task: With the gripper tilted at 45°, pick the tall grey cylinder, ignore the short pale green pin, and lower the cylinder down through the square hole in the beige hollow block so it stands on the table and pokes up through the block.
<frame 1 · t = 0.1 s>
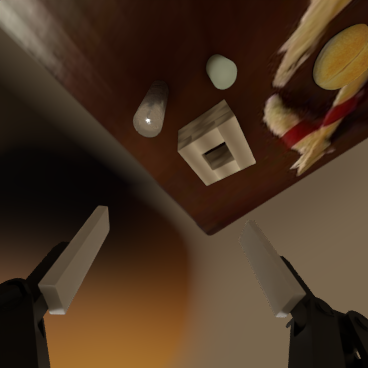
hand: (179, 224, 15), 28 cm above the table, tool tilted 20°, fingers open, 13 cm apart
bread roll: (337, 59, 28), on the table
beige hollow block: (212, 136, 38), on the table
short pin: (215, 66, 28), on the table
tall grey cylinder: (160, 90, 31), on the table
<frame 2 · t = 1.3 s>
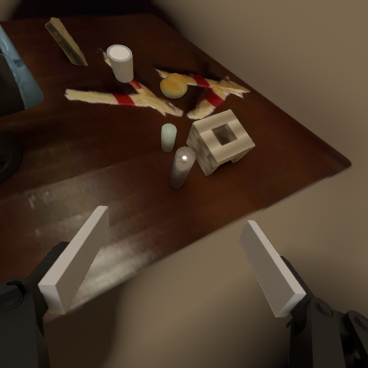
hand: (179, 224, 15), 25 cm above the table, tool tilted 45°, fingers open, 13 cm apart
bread roll: (173, 90, 52), on the table
beige hollow block: (212, 151, 47), on the table
rock: (75, 55, 50), on the table
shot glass: (124, 76, 50), on the table
short pin: (167, 146, 45), on the table
tall grey cylinder: (175, 183, 42), on the table
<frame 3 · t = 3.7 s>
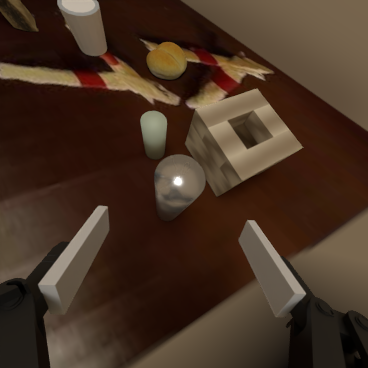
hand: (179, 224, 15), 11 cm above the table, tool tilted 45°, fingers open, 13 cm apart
bread roll: (166, 68, 36), on the table
beige hollow block: (225, 157, 31), on the table
rock: (22, 17, 34), on the table
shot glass: (94, 48, 34), on the table
short pin: (155, 150, 29), on the table
tall grey cylinder: (167, 210, 26), on the table
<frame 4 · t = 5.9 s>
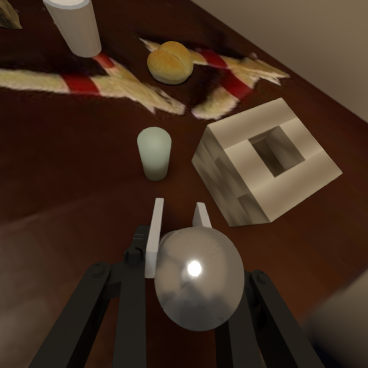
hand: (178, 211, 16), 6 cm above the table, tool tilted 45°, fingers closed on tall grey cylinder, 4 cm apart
bread roll: (170, 71, 32), on the table
beige hollow block: (238, 177, 26), on the table
rock: (4, 12, 30), on the table
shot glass: (86, 48, 30), on the table
short pin: (155, 170, 24), on the table
tall grey cylinder: (170, 245, 21), on the table, touching gripper
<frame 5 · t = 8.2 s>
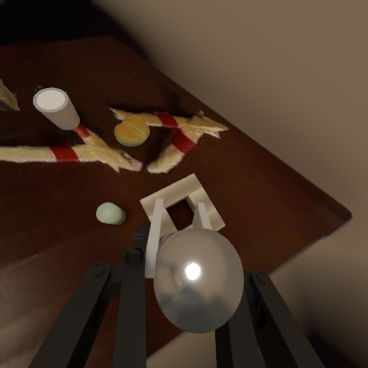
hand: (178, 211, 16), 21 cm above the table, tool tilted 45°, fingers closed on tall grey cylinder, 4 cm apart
bread roll: (133, 134, 43), on the table
beige hollow block: (177, 217, 37), on the table
rock: (5, 96, 40), on the table
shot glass: (68, 121, 40), on the table
short pin: (118, 216, 35), on the table
tall grey cylinder: (170, 246, 21), point 15 cm above the table, touching gripper
when the fingers open (13 cm above the table, at t = 10.8 s): tall grey cylinder drops 6 cm, on the table.
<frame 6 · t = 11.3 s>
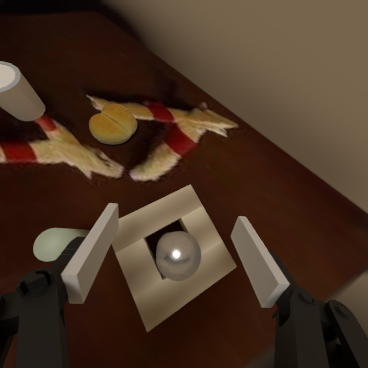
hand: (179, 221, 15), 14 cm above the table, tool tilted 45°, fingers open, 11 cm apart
bread roll: (116, 128, 33), on the table
beige hollow block: (168, 243, 27), on the table
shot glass: (30, 110, 31), on the table
short pin: (83, 241, 25), on the table
tall grey cylinder: (167, 243, 27), on the table
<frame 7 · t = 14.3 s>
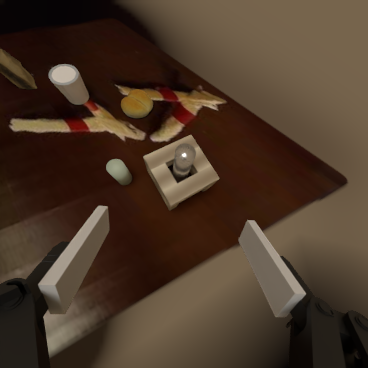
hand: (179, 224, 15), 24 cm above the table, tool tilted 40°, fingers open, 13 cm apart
bread roll: (138, 107, 47), on the table
beige hollow block: (178, 180, 41), on the table
rock: (24, 76, 45), on the table
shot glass: (79, 97, 45), on the table
short pin: (125, 178, 40), on the table
tall grey cylinder: (178, 180, 41), on the table
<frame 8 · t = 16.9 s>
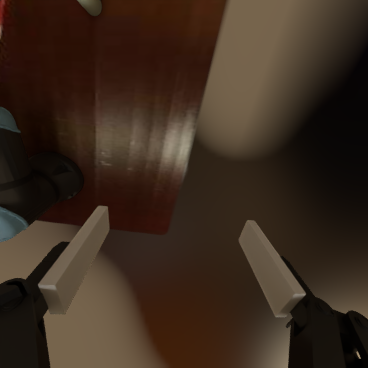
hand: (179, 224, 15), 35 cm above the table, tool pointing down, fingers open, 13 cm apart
short pin: (92, 3, 32), on the table
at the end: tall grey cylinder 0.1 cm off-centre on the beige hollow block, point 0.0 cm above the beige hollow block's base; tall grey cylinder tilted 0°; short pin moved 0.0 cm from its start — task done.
